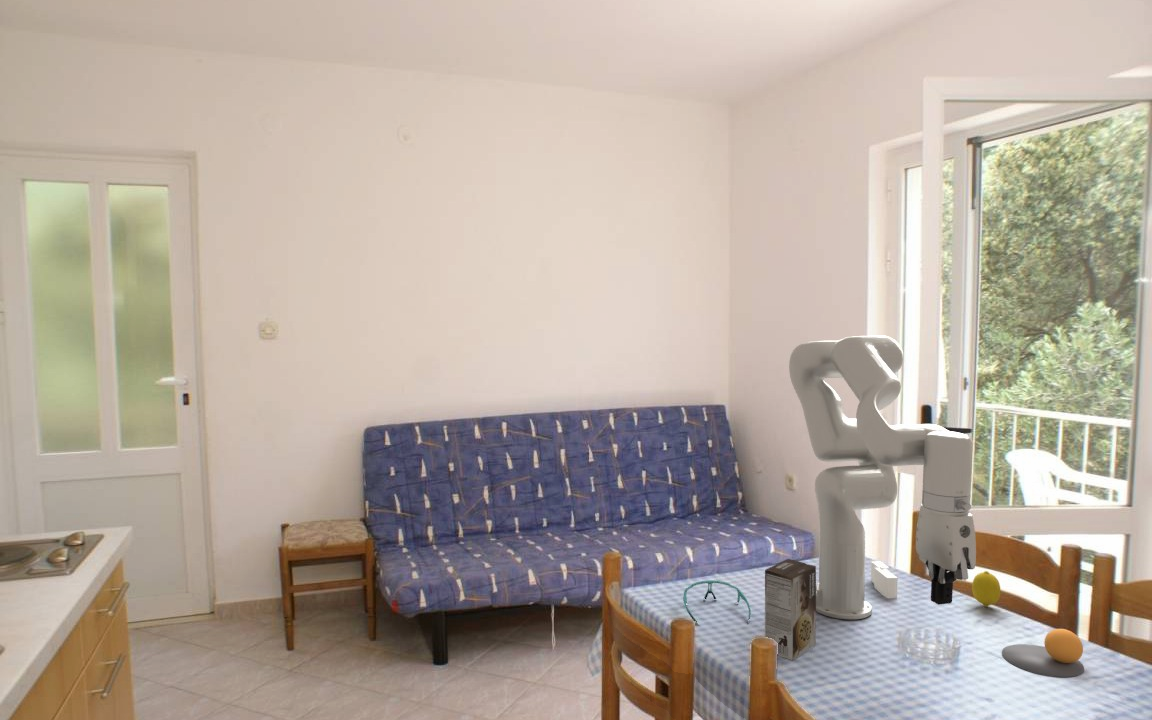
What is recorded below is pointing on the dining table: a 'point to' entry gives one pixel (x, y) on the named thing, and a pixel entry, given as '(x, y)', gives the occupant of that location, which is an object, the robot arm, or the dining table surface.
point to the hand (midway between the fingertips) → (941, 602)
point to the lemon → (986, 588)
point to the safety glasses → (713, 594)
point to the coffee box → (791, 607)
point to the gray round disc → (1040, 661)
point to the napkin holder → (883, 579)
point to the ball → (1063, 645)
